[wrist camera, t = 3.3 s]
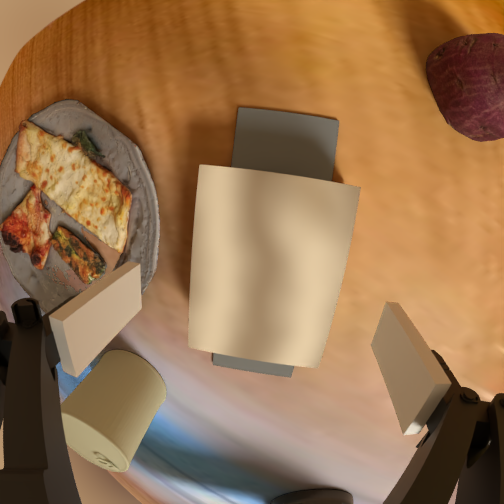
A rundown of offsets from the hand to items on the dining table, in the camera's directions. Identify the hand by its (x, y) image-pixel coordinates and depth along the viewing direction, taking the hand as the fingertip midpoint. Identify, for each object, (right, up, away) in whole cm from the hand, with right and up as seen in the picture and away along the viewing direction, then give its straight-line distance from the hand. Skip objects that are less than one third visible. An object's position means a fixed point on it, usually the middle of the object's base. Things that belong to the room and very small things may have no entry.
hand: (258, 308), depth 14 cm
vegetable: (+20, +18, +3) cm, 27 cm away
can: (-15, -13, +16) cm, 25 cm away
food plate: (-20, +7, +12) cm, 24 cm away
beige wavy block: (+1, +2, +10) cm, 10 cm away
